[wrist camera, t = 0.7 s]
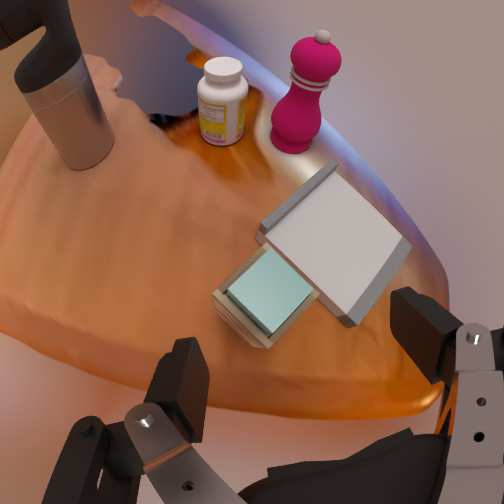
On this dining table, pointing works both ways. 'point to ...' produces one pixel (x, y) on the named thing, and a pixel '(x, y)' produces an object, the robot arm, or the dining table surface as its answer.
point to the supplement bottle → (222, 101)
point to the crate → (241, 321)
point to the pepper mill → (304, 93)
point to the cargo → (269, 291)
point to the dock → (336, 243)
